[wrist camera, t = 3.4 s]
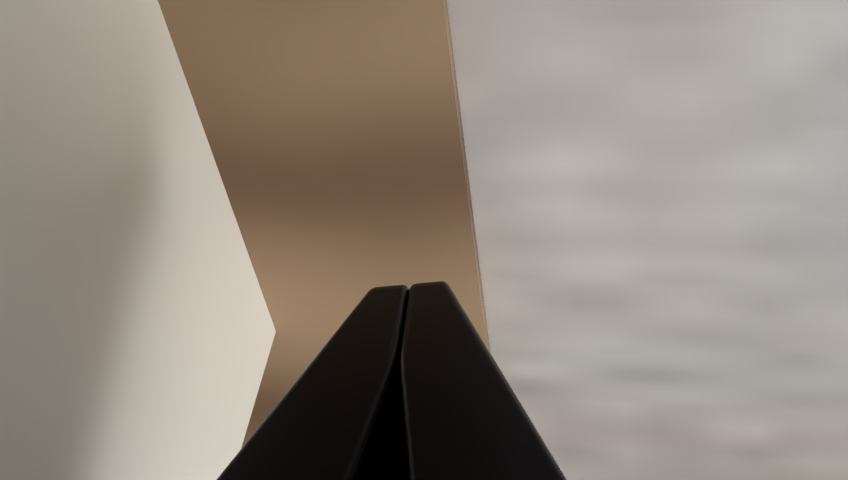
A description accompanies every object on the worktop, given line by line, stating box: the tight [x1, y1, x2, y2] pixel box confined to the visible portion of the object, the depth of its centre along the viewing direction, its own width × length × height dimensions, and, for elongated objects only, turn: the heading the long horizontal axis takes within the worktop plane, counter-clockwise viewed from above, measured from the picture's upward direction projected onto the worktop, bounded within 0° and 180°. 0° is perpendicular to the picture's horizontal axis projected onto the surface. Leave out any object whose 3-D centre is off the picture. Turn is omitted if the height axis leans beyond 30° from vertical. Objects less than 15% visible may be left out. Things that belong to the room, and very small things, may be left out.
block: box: [0, 0, 276, 480], centre depth 9 cm, size 8×2×8 cm, turn 8°
